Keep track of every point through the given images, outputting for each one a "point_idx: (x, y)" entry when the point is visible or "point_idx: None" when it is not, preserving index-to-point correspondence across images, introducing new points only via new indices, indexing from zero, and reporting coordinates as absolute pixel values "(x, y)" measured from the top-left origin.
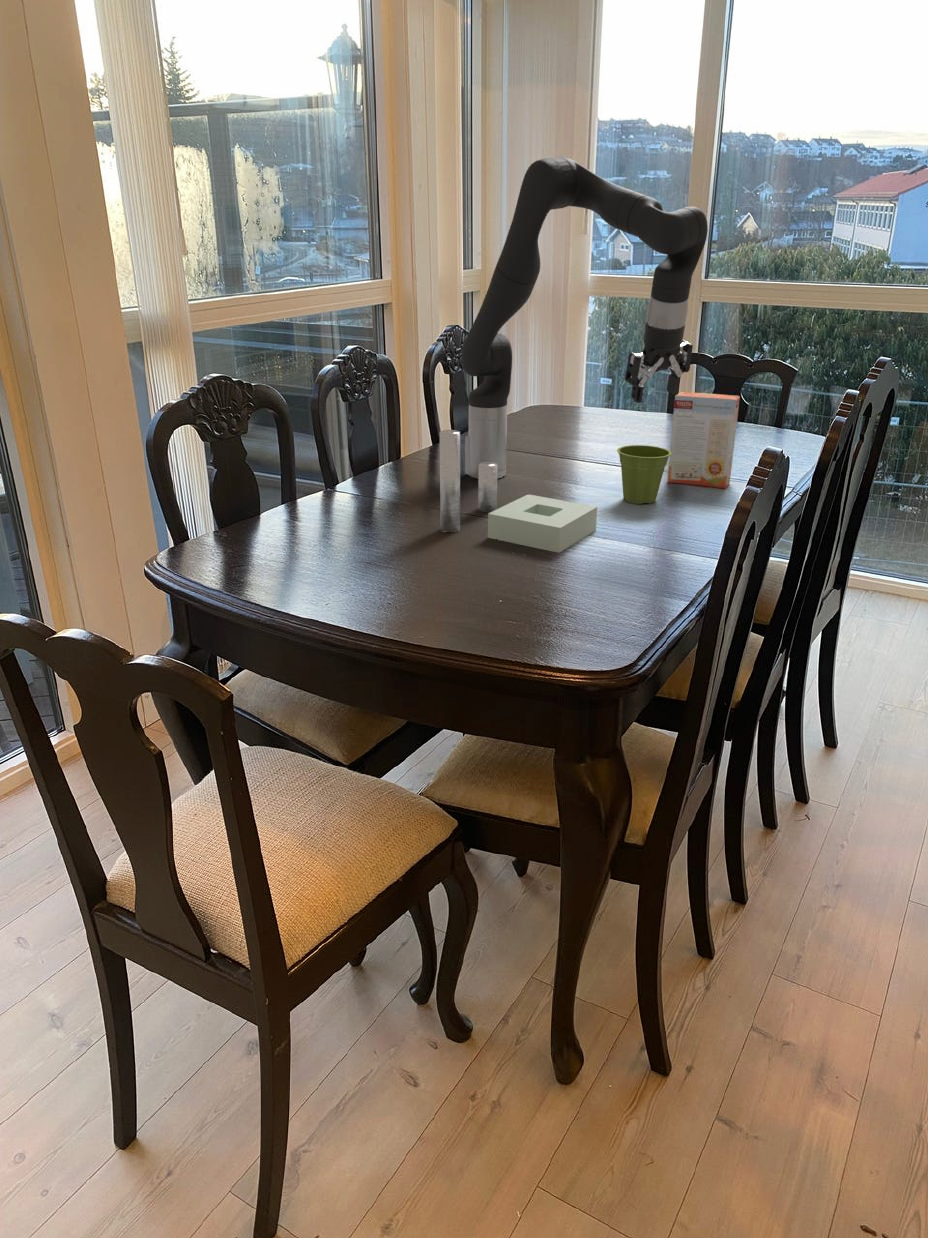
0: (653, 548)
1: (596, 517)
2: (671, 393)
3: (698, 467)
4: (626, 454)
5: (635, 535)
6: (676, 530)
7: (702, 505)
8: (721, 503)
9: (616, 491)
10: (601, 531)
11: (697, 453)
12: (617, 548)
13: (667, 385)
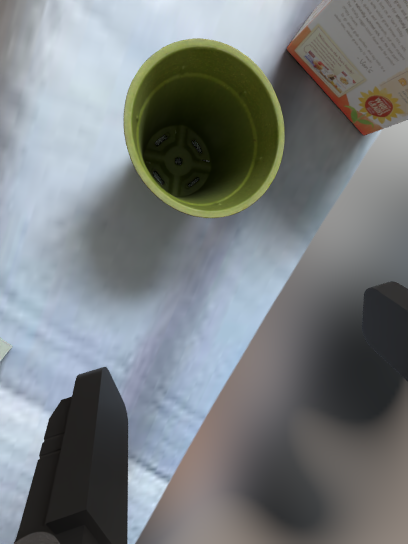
0: None
1: (2, 358)
2: (363, 328)
3: (354, 81)
4: (138, 162)
5: None
6: (174, 357)
7: (278, 225)
8: (314, 221)
9: None
10: (24, 352)
11: (377, 59)
12: (28, 445)
13: (393, 304)
